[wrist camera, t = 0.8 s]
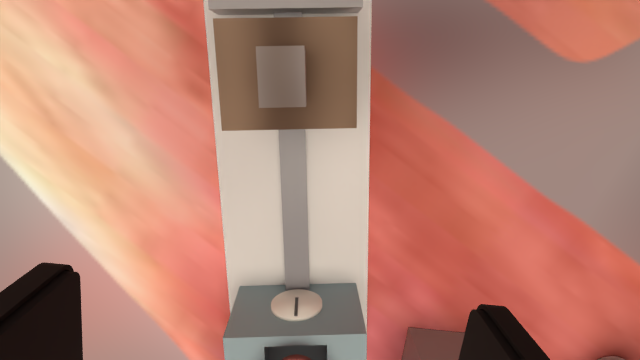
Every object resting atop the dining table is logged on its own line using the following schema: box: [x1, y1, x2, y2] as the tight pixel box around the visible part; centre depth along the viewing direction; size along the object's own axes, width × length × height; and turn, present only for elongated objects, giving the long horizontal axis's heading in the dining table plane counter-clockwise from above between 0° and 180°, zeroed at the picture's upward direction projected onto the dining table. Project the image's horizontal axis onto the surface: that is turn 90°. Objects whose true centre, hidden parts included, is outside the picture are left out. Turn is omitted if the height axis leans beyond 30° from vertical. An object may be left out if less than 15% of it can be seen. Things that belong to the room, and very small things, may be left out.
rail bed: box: [203, 0, 372, 332], centre depth 32 cm, size 12×29×4 cm, turn 1°
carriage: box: [213, 16, 358, 131], centre depth 25 cm, size 9×7×9 cm
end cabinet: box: [223, 283, 367, 360], centre depth 32 cm, size 10×6×7 cm, turn 91°
